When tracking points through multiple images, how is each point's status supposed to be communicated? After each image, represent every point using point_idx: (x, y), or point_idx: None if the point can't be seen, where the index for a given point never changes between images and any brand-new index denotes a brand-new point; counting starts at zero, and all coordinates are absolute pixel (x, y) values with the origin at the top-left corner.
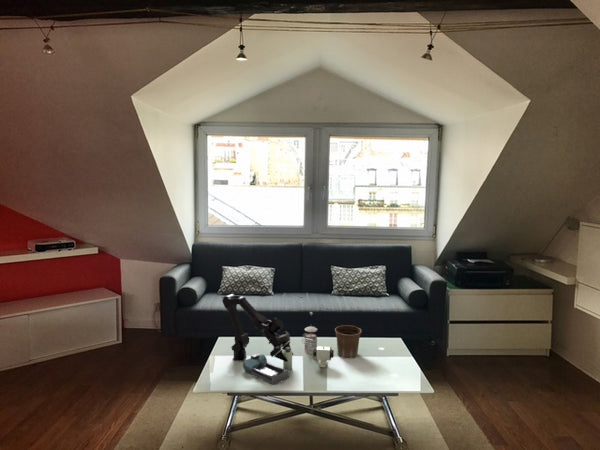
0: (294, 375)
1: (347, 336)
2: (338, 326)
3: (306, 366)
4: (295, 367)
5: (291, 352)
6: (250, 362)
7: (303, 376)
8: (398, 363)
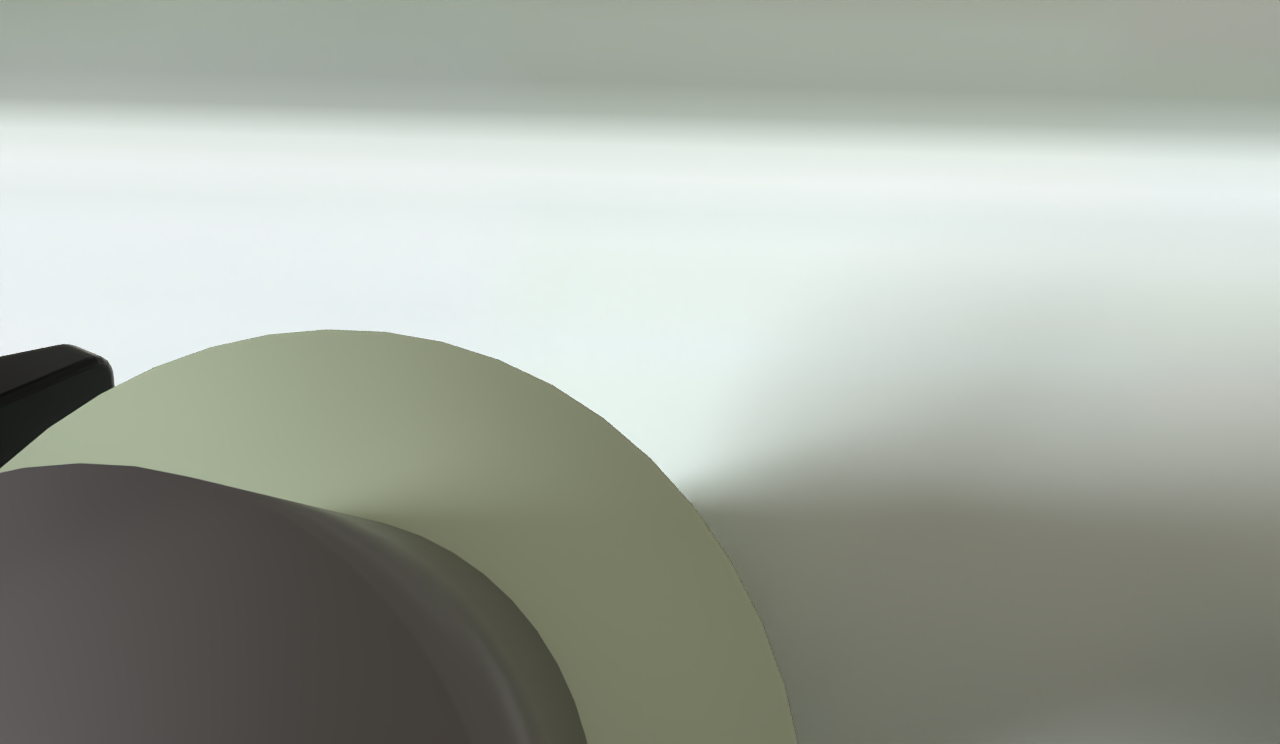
0: (1135, 435)
1: None
2: None
3: (430, 15)
4: None
5: (589, 412)
6: None
7: (1193, 128)
8: None
